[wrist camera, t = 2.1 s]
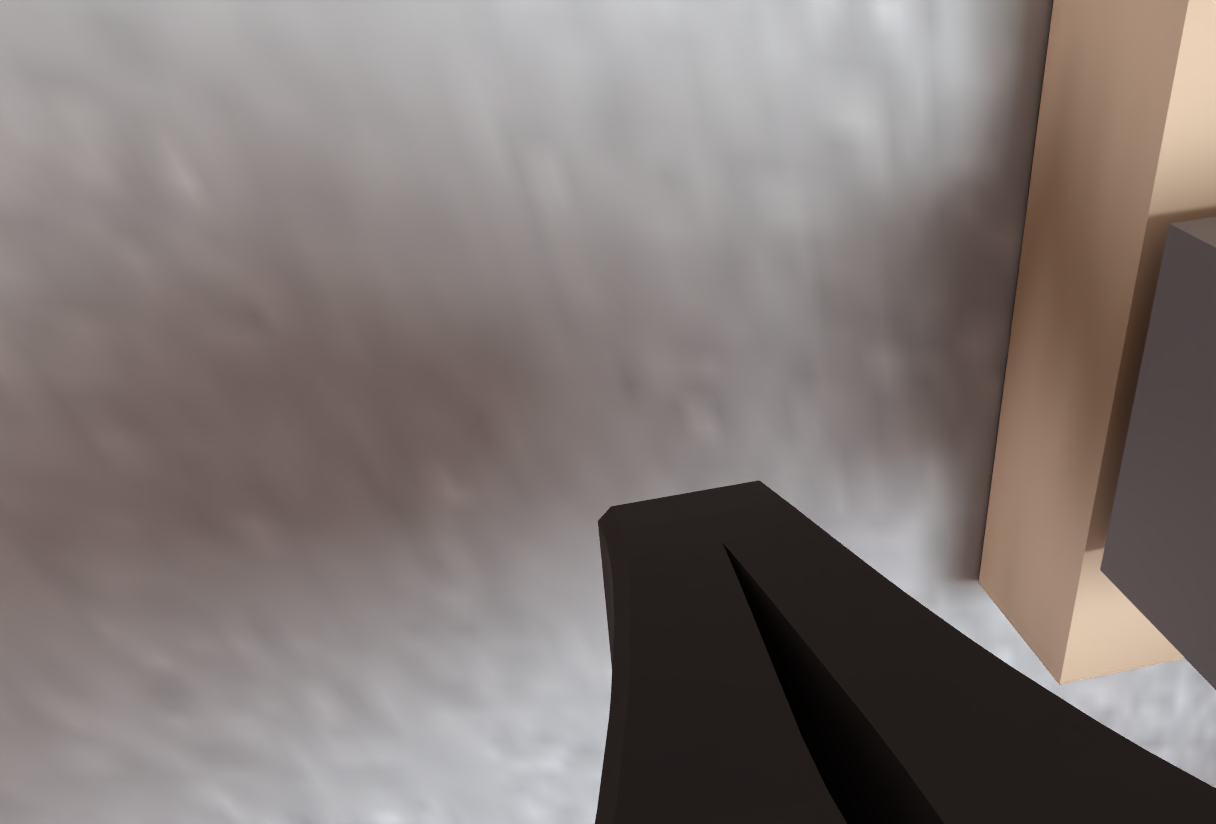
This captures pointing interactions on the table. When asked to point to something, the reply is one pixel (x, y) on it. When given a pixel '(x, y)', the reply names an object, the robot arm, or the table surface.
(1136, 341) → the fader console
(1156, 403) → the fader knob
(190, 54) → the table surface
